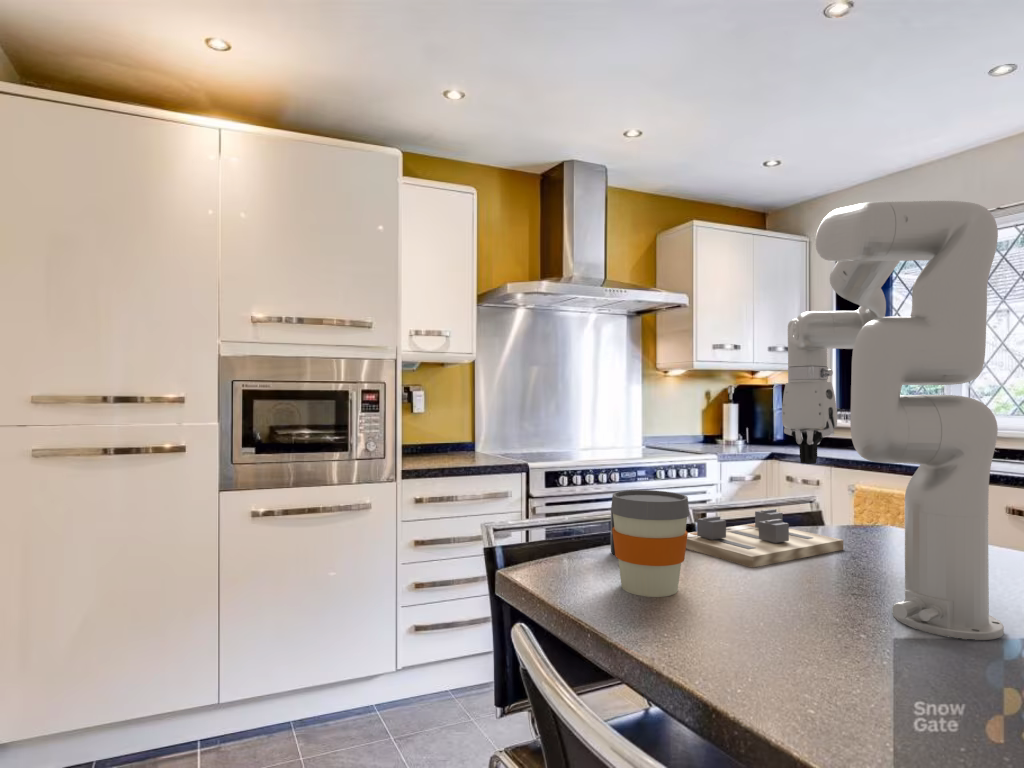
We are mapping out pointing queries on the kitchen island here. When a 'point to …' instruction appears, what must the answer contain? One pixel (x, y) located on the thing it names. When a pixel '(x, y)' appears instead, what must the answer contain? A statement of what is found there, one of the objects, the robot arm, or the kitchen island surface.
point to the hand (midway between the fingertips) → (808, 463)
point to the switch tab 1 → (711, 528)
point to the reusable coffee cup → (650, 540)
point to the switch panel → (762, 546)
